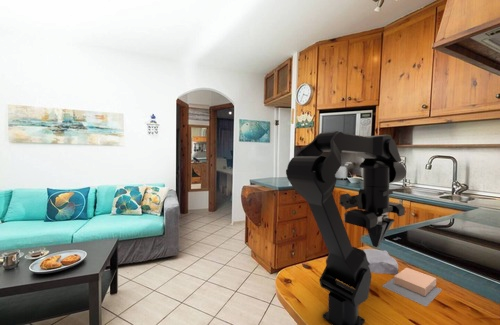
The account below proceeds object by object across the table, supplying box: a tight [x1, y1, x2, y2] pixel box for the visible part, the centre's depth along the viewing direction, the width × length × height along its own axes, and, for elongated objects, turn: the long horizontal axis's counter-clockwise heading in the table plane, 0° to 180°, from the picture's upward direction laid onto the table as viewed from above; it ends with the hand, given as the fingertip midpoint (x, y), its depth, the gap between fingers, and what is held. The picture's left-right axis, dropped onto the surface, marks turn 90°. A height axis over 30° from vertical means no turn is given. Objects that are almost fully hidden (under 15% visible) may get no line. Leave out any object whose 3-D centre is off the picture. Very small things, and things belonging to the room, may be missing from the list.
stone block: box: [363, 248, 400, 275], centre depth 72 cm, size 12×5×10 cm
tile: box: [393, 267, 437, 296], centre depth 61 cm, size 2×7×8 cm
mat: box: [381, 277, 443, 307], centre depth 60 cm, size 11×10×1 cm
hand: (375, 246), depth 56 cm, fingers closed
